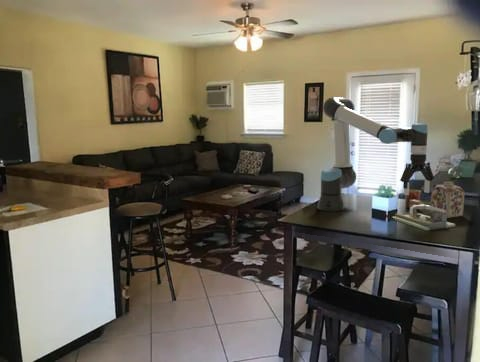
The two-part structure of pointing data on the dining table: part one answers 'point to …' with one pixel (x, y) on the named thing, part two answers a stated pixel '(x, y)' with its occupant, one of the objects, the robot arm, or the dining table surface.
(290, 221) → the dining table surface
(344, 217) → the dining table surface
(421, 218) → the ball
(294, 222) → the dining table surface
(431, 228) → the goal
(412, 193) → the mug
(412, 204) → the white arched piece
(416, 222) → the pitch
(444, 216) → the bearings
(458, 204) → the decorative jar
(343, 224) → the dining table surface
